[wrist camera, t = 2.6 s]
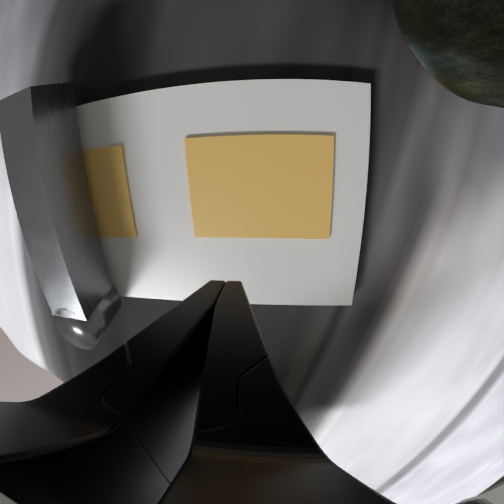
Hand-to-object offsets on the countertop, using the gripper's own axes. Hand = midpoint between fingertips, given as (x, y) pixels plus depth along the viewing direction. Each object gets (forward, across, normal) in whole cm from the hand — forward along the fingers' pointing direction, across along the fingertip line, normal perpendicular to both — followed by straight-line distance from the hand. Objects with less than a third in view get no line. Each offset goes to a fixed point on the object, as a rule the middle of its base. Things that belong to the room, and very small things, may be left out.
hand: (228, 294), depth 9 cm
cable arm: (+9, +12, +1) cm, 15 cm away
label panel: (+11, +6, +1) cm, 13 cm away
